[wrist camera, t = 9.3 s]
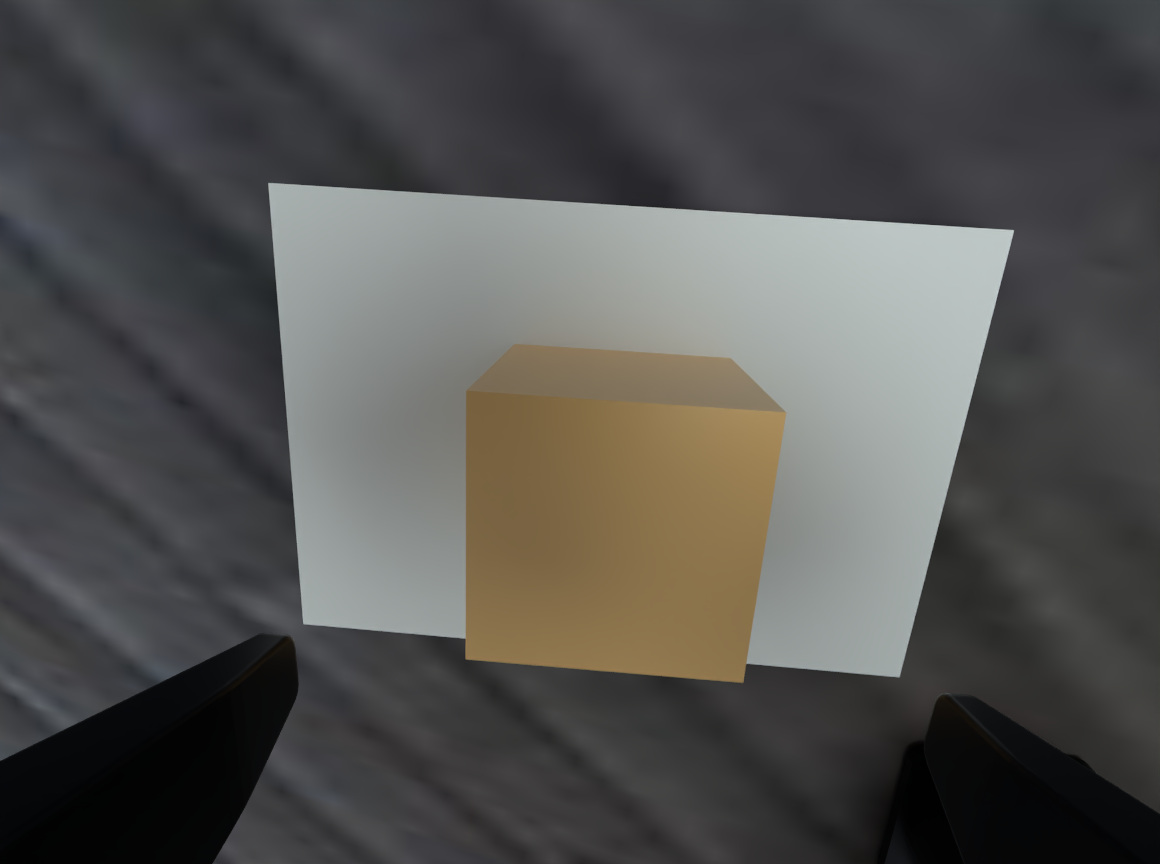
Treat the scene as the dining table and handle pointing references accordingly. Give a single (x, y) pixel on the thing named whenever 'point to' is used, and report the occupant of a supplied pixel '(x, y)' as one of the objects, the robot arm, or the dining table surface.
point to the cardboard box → (617, 510)
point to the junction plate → (638, 324)
